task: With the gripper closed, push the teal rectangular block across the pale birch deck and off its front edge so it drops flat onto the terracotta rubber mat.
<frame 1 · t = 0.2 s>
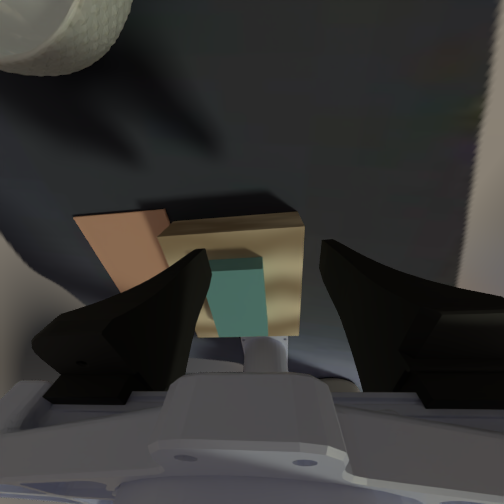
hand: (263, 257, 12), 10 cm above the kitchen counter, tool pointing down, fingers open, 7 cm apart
terracotta mat: (151, 277, 26), on the kitchen counter
birch deck: (242, 273, 25), on the kitchen counter
cylinder vase: (327, 389, 41), on the kitchen counter
teal rectangular block: (239, 294, 21), point 4 cm above the kitchen counter, touching birch deck
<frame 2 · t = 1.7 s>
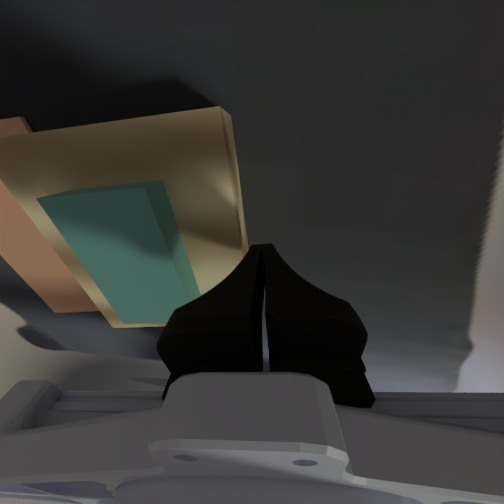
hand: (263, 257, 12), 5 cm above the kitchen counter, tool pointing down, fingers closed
terracotta mat: (45, 242, 18), on the kitchen counter
birch deck: (170, 232, 17), on the kitchen counter
teal rectangular block: (147, 255, 14), point 4 cm above the kitchen counter, touching birch deck
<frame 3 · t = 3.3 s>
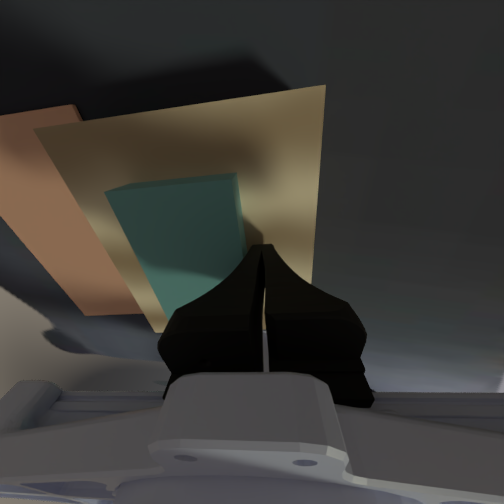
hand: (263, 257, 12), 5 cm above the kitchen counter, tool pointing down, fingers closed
terracotta mat: (83, 242, 17), on the kitchen counter
birch deck: (219, 231, 16), on the kitchen counter
teal rectangular block: (203, 255, 12), point 4 cm above the kitchen counter, touching birch deck, gripper
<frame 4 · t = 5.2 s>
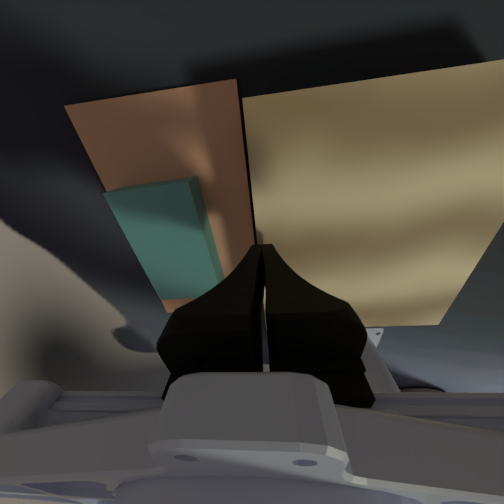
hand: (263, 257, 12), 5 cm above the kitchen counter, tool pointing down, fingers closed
terracotta mat: (191, 233, 16), on the kitchen counter
birch deck: (344, 221, 15), on the kitchen counter
teal rectangular block: (171, 252, 15), point 2 cm above the kitchen counter, tilted 180°, touching terracotta mat
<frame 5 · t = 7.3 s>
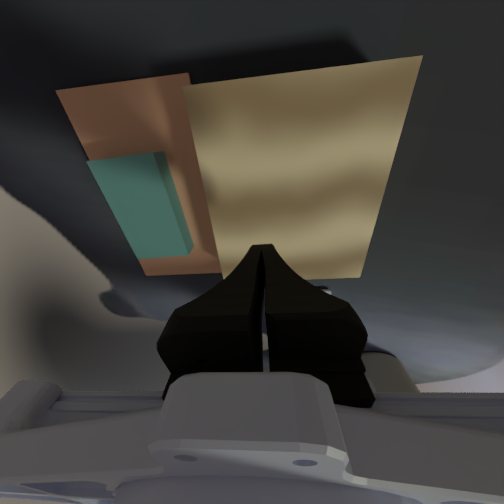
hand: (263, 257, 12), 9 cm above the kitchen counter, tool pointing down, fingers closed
terracotta mat: (162, 201, 19), on the kitchen counter
birch deck: (286, 192, 18), on the kitchen counter
cylinder vase: (363, 367, 35), on the kitchen counter
teal rectangular block: (143, 214, 18), point 2 cm above the kitchen counter, tilted 180°, touching terracotta mat
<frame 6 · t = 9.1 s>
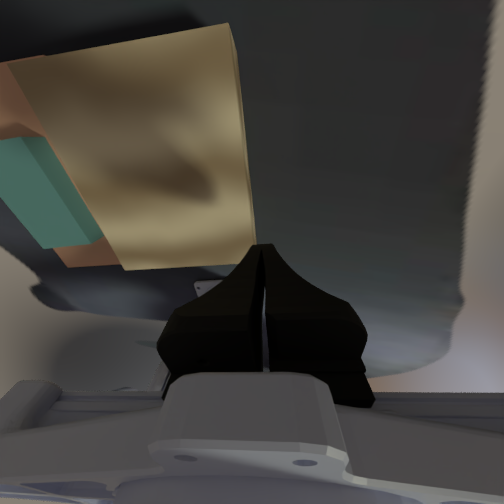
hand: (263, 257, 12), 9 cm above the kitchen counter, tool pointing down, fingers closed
terracotta mat: (61, 190, 19), on the kitchen counter
birch deck: (179, 177, 18), on the kitchen counter
teal rectangular block: (33, 201, 18), point 2 cm above the kitchen counter, tilted 180°, touching terracotta mat
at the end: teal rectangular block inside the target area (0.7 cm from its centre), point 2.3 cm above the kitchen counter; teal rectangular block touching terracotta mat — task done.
